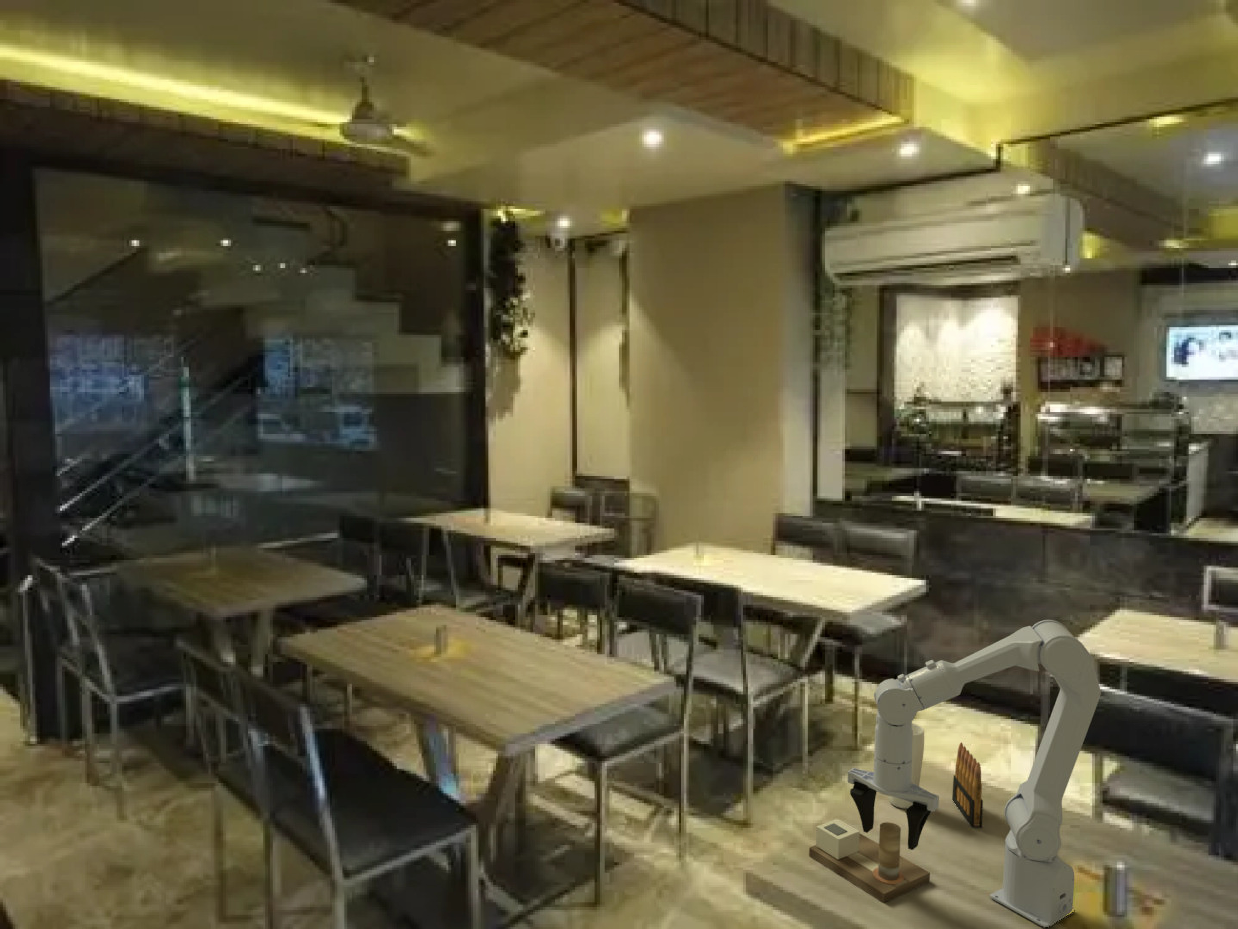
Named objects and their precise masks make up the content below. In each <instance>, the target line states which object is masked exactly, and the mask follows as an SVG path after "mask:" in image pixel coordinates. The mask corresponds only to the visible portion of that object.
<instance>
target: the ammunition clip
mask: <svg viewBox="0 0 1238 929" xmlns="http://www.w3.org/2000/svg"><path fill="white" fill-rule="evenodd" d="M954 770H955V773H954V774H953V779H952V781H953V782H952V794H951V795H952V796H951V797H952V798H951V800H953V801H954V802H953V801H952V802H953V803H955V804H956V805H955V804H954V805H955V806H956V808H957V807H958V808H957V809H958V811H959V810H960V811H959V812H960V814H961V815H962V817H963V818H964V819H965V821H966V822H967V823H968V825H969V827H971V829H972V828H974V829H975V828H976V829H979V828H980V829H982V828H983V808H984V807H983V805H984V800H983V799H982V796H983V795H982V793H983V792H982V789H983V787H982V786H983V785H982V784H983V783H982V767H981V764H980V762H977V759H976V758H975V757H974V756H973V753H970V750H968V749H967V747H966V746H965V745H964V744H963V742H962V741H961V742H960V743H959V744H958V748H957V755H956V761H955V769H954Z"/></svg>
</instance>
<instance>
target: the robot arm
mask: <svg viewBox="0 0 1238 929" xmlns="http://www.w3.org/2000/svg"><path fill="white" fill-rule="evenodd" d="M1039 664H1041V665H1042V666H1043V668H1044V669H1045V670H1046V671H1047V673H1049V674H1050V675H1051V676H1052V677H1053V678H1054V680H1055V681H1056V683H1057V685H1058V686H1059V692H1058V695H1057V697H1056V701H1055V704H1054V706H1053V708H1052V711H1051V714H1050V717H1049V719H1048V722H1047V724H1046V728H1045V730H1044V734H1043V736H1042V739H1041V741H1040V744H1039V748H1038V750H1037V753H1036V755H1035V758H1034V761H1033V764H1032V767H1031V770H1030V772H1029V774H1028V777H1027V779H1026V781H1024V782H1022V783H1020V784H1019V786H1018V789H1017V791H1016V793H1015V794H1014V795H1013V796H1012V797H1011V798H1009V799H1008V800H1007V802H1006V804H1005V806H1004V812H1003V813H1004V817H1005V821H1006V823H1007V824H1008V825H1009V827H1010V830H1009V832H1008V834H1007V835H1006V836H1005V842H1004V859H1003V875H1002V876H1003V878H1002V888H1000V889H997V890H996V891H993V892H992V893H990V895H989V898H990V899H992V900H993V901H995V902H997V903H999V904H1001V905H1002V906H1005V907H1006V908H1008V909H1010V910H1012V911H1013V912H1015V913H1017V914H1019V915H1021V916H1023V917H1024V918H1027V919H1028V920H1030V921H1032V922H1033V923H1036V924H1037V925H1039V926H1041V927H1042V926H1043V927H1042V928H1045V927H1048V928H1050V927H1052V926H1053V925H1055V924H1057V923H1058V922H1060V921H1062V920H1063V919H1062V918H1064V917H1065V916H1066V915H1067V914H1069V913H1070V912H1071V911H1072V909H1073V908H1074V906H1073V905H1074V890H1075V889H1074V888H1075V872H1074V871H1075V870H1074V868H1073V867H1072V866H1071V865H1070V864H1068V863H1067V862H1065V861H1064V860H1063V859H1062V858H1061V857H1060V856H1059V854H1058V853H1059V850H1060V849H1061V845H1062V839H1061V834H1060V833H1061V826H1062V824H1063V797H1064V795H1065V794H1066V789H1067V787H1068V786H1069V785H1068V784H1069V782H1070V778H1071V776H1072V773H1073V770H1074V768H1075V765H1076V763H1077V760H1078V757H1079V754H1080V752H1081V750H1082V747H1083V743H1084V741H1085V738H1086V736H1087V733H1088V730H1089V727H1090V725H1091V722H1092V719H1093V717H1094V714H1095V711H1096V708H1097V706H1098V704H1099V701H1100V698H1101V693H1102V690H1101V687H1100V684H1099V679H1098V676H1097V672H1096V669H1095V666H1094V657H1093V656H1092V655H1091V653H1090V652H1089V651H1088V649H1087V647H1085V645H1084V644H1083V643H1082V642H1081V641H1080V640H1079V639H1078V638H1076V637H1075V636H1074V635H1073V633H1071V632H1070V630H1069V629H1068V628H1067V627H1066V626H1065V625H1064V624H1063V623H1061V622H1060V621H1057V620H1054V619H1043V620H1041V621H1038V622H1036V623H1034V624H1033V626H1031V625H1028V626H1024V627H1021V628H1019V629H1018V630H1016V631H1014V633H1012V634H1010V635H1009V636H1006V637H1004V638H1003V639H1000V640H998V641H996V642H994V643H992V644H990V645H988V646H986V647H983V648H982V649H981V650H978V651H976V652H974V653H972V654H969V655H968V656H965V657H964V658H962V659H960V660H957V661H956V662H950V661H949V662H948V661H946V660H943V659H941V660H938V661H934V660H933V659H931V660H928V661H926V662H925V665H926V666H924V667H922V668H919V669H918V670H915V671H913V672H910V673H908V674H906V675H905V674H904V673H902V674H899V675H897V678H896V679H895V678H887V679H884V680H883V681H882V682H880V683H879V684H878V686H877V687H876V690H875V692H874V693H873V696H874V701H875V703H876V707H877V708H876V709H877V711H876V712H877V713H876V716H875V722H876V724H875V727H874V748H873V749H874V750H873V752H874V754H873V756H874V757H873V771H868V770H863V769H859V768H856V767H852V768H851V769H850V770H848V771H847V784H851V785H852V788H850V789H849V790H850V791H849V793H850V794H849V795H850V796H851V798H852V800H853V802H854V804H855V807H856V809H857V811H858V814H859V818H860V821H861V825H862V826H861V827H862V830H863V833H866V834H868V833H869V832H870V831H871V830H873V828H874V825H875V824H874V823H875V822H874V821H875V803H876V797H877V792H878V793H880V794H881V795H884V796H888V797H889V796H893V797H897V798H900V799H903V800H906V801H909V802H912V803H913V805H912V806H910V807H909V808H908V809H905V814H906V818H907V828H908V831H907V833H908V835H907V849H908V850H909V851H910V850H911V851H913V850H915V849H916V848H917V847H918V845H919V843H920V838H921V834H922V831H923V829H924V827H925V824H926V822H927V820H928V818H929V817H930V815H931V814H932V812H935V811H937V810H938V809H939V807H940V806H939V805H940V796H939V795H937V794H935V793H932V792H930V791H928V790H927V789H924V788H922V787H920V785H919V786H917V785H915V784H914V783H912V782H911V770H912V743H913V730H912V723H913V721H914V719H915V718H916V716H917V714H918V712H922V711H925V710H927V709H929V708H932V707H934V706H936V705H938V704H941V703H944V702H946V701H948V700H951V699H953V698H956V697H957V696H960V695H961V692H962V690H963V689H964V688H963V687H964V686H965V684H967V683H968V684H969V683H970V682H973V681H975V680H979V679H981V678H984V677H986V676H987V677H988V676H990V675H992V674H994V673H997V672H1001V671H1003V670H1006V669H1008V668H1011V667H1020V668H1023V669H1027V670H1029V671H1035V672H1040V668H1039ZM1065 918H1066V917H1065ZM1065 918H1064V919H1065ZM1061 919H1062V920H1061ZM1059 920H1060V921H1059ZM1057 921H1058V922H1057ZM1056 922H1057V923H1056ZM1054 923H1055V924H1054ZM1049 926H1050V927H1049Z"/></svg>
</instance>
